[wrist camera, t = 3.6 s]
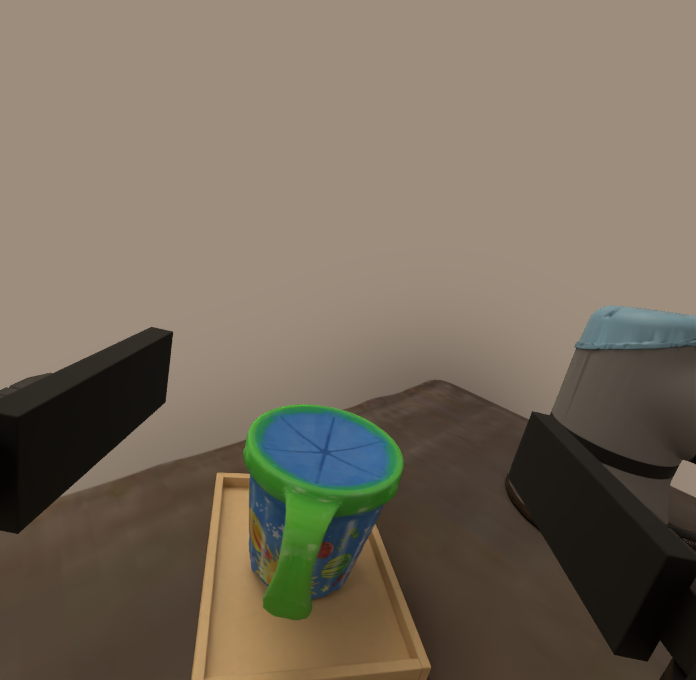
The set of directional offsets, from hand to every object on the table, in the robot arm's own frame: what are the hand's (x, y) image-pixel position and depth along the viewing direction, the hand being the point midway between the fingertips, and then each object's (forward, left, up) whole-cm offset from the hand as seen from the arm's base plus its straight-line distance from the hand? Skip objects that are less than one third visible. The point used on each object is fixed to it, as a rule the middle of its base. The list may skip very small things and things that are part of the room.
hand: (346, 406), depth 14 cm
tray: (-3, -10, -18) cm, 21 cm away
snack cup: (-3, -10, -18) cm, 21 cm away
